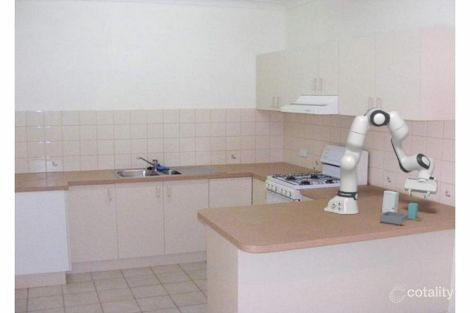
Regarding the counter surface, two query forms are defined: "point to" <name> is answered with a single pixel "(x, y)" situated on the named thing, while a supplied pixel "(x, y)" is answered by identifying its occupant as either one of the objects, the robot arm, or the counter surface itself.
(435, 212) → the counter surface
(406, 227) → the counter surface
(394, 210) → the skincare box
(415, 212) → the strut
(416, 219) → the brown wooden lid
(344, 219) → the counter surface
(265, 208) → the counter surface
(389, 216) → the bin
